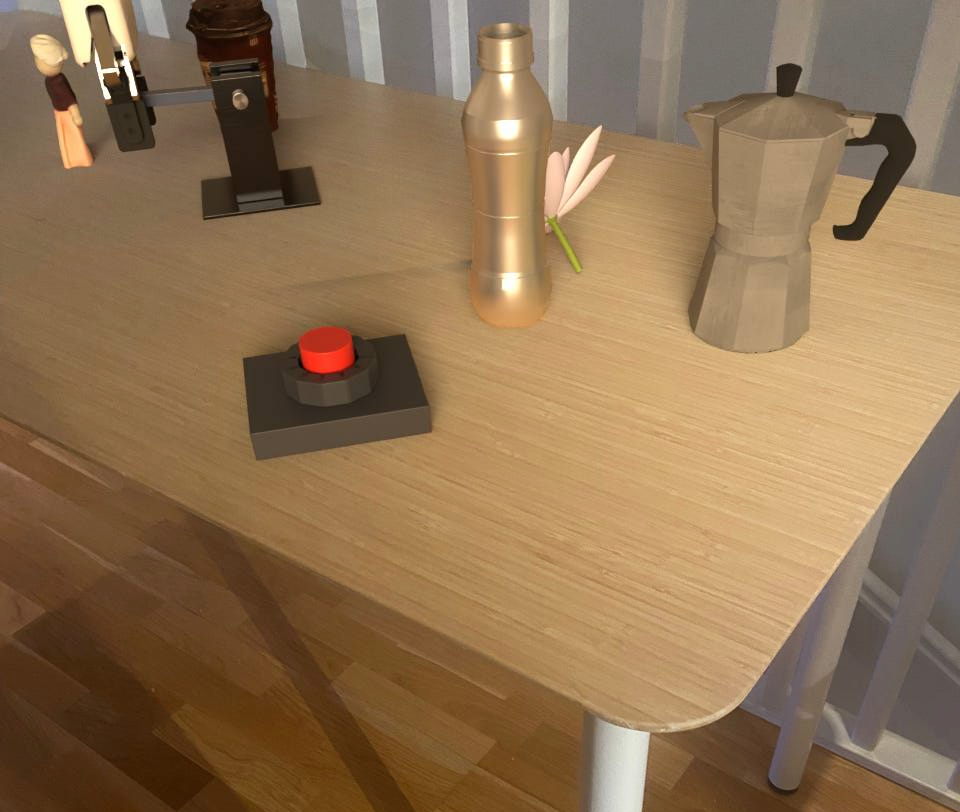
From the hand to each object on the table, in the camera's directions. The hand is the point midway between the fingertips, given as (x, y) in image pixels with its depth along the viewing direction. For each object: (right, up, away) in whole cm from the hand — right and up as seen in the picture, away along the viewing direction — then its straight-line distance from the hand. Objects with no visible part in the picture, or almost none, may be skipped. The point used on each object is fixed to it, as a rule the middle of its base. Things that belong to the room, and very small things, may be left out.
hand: (138, 135), depth 89 cm
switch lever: (+5, +2, -1) cm, 5 cm away
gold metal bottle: (+34, -20, -11) cm, 41 cm away
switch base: (+21, -29, -19) cm, 41 cm away
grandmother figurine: (-11, +3, +14) cm, 18 cm away
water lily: (+36, -13, -4) cm, 39 cm away
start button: (+21, -27, -22) cm, 40 cm away
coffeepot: (+53, -22, -14) cm, 59 cm away
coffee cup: (+6, +9, +19) cm, 22 cm away
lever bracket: (+10, -3, +6) cm, 12 cm away
